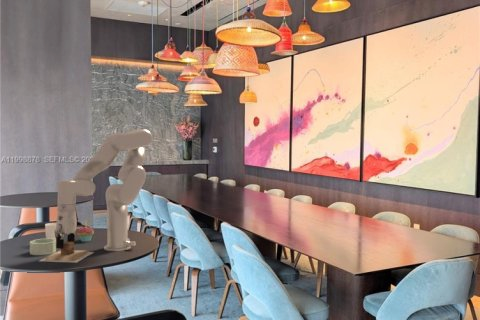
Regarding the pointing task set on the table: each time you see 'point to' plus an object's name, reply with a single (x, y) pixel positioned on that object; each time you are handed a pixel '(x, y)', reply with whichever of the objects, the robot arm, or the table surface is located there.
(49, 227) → the white cup
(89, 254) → the mat
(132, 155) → the robot arm
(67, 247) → the lid
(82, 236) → the cupcake
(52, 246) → the bowl
